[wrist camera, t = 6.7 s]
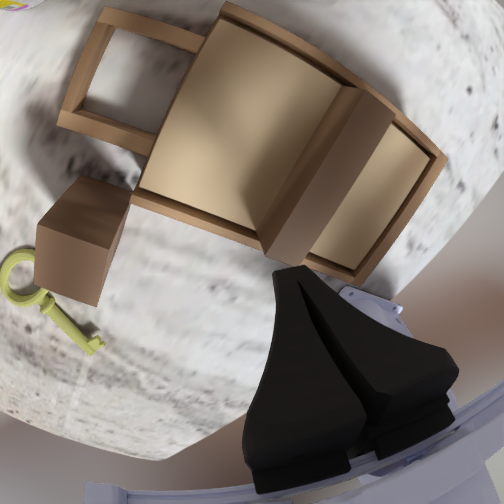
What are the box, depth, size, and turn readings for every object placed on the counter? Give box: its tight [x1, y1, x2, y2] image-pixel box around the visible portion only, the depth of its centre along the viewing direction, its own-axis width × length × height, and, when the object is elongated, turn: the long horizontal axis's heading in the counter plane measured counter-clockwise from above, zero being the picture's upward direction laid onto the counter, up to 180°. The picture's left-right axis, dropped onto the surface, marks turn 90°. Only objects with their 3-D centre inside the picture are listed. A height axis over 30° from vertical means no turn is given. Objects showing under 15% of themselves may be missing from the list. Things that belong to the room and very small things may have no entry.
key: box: [0, 249, 106, 356], centre depth 21 cm, size 7×12×2 cm, turn 45°
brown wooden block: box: [34, 175, 133, 307], centre depth 16 cm, size 4×4×7 cm
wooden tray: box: [56, 1, 448, 287], centre depth 16 cm, size 22×11×5 cm, turn 62°
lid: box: [139, 19, 430, 270], centre depth 14 cm, size 15×9×3 cm, turn 62°
